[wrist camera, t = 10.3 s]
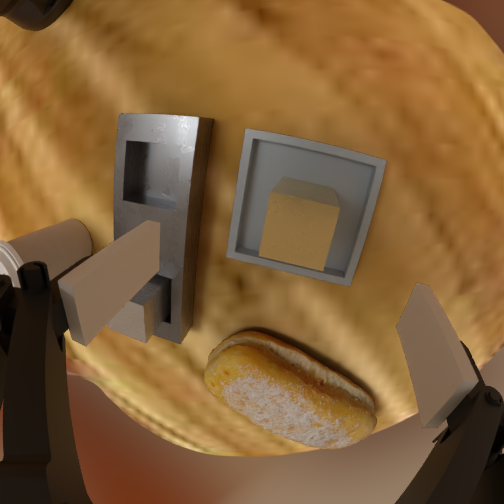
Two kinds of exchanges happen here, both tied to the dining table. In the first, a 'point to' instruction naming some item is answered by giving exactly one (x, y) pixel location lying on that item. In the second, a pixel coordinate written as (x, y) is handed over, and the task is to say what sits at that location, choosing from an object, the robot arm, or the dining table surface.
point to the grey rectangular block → (144, 310)
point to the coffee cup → (46, 249)
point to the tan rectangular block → (300, 223)
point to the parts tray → (309, 170)
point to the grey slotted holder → (164, 198)
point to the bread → (288, 392)
